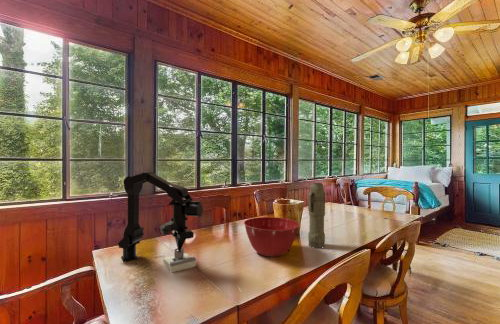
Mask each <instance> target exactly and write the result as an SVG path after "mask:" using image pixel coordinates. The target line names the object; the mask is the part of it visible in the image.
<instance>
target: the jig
mask: <svg viewBox="0 0 500 324" xmlns="http://www.w3.org/2000/svg"><path fill="white" fill-rule="evenodd" d="M174 259H175V255H172V256H167V257H164V258H163V261H162V262H163V265H164V266H165V267H166V268H167V269H168V270H169V271H170V273H175V272H179V271H181V270H186V269H190V268H194V267H196V266H197V265H196V264H197V259H196V257H195V256H190V254H188V253H187V252H186V253H185V252H184V259H182V260H178V261H174Z"/></svg>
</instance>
